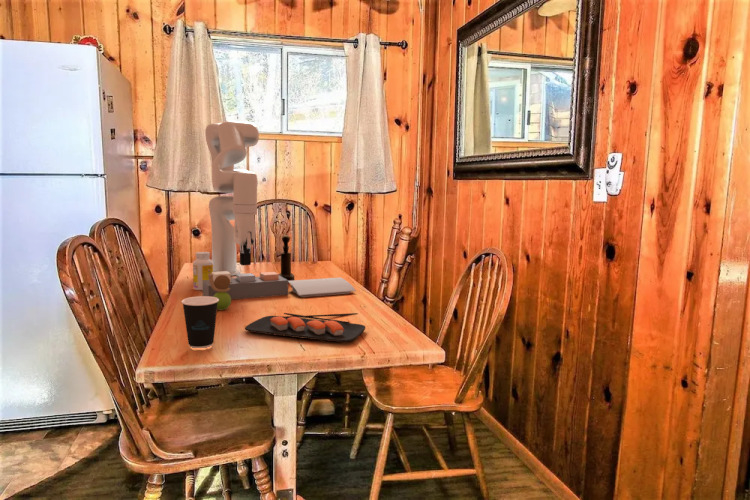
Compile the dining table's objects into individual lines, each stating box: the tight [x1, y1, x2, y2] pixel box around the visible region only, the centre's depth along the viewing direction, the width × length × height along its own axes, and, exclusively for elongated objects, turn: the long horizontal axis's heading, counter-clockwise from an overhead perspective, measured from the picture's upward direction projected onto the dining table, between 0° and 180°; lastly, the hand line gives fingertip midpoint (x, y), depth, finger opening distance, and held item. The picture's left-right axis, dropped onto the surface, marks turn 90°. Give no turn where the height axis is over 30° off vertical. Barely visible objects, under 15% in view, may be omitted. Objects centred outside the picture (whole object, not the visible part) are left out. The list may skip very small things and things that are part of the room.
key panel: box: [202, 276, 289, 301], centre depth 168 cm, size 10×26×5 cm, turn 119°
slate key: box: [235, 273, 256, 282], centre depth 168 cm, size 5×5×4 cm
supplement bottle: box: [192, 251, 213, 291], centre depth 176 cm, size 7×7×13 cm
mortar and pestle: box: [278, 234, 295, 284], centre depth 193 cm, size 7×6×18 cm
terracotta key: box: [259, 271, 280, 281], centre depth 172 cm, size 5×5×4 cm
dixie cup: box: [181, 295, 219, 348], centre depth 114 cm, size 8×8×11 cm
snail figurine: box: [208, 270, 232, 311], centre depth 147 cm, size 5×6×12 cm
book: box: [288, 276, 356, 298], centre depth 177 cm, size 15×23×4 cm, turn 117°
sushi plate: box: [244, 312, 366, 342], centre depth 135 cm, size 29×30×4 cm
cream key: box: [212, 271, 232, 283], centre depth 164 cm, size 5×5×4 cm
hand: (245, 264), depth 168 cm, fingers closed
